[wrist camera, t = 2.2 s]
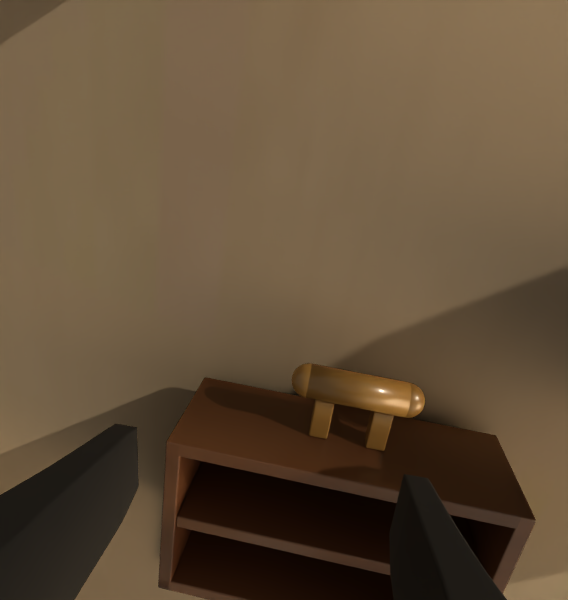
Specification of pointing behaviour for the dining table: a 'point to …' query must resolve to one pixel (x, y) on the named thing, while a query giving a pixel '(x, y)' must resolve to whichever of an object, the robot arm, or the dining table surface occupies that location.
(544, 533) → the dining table surface
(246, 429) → the drawer
